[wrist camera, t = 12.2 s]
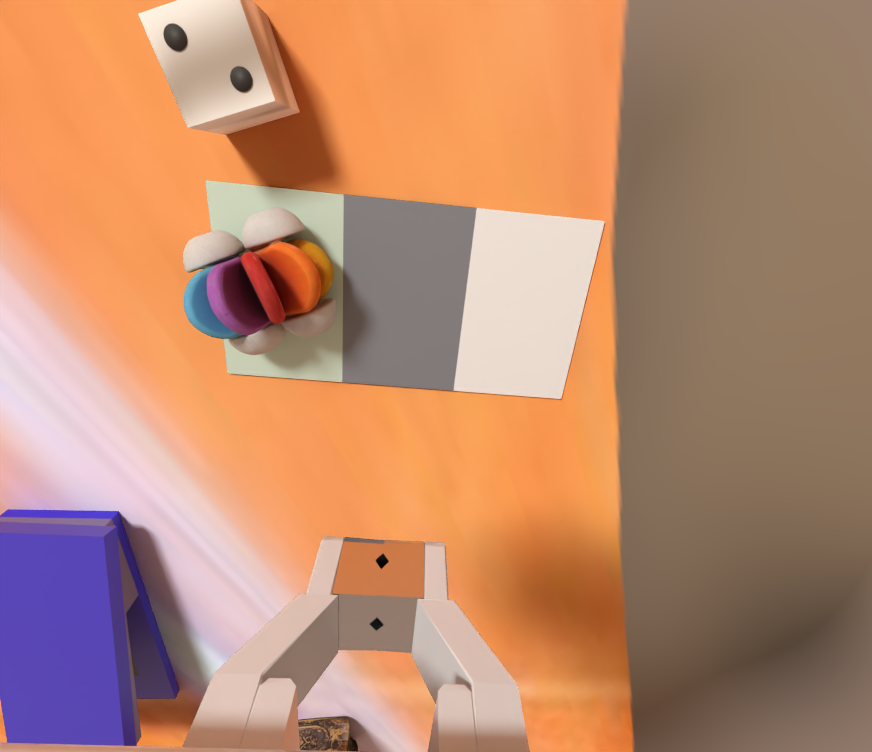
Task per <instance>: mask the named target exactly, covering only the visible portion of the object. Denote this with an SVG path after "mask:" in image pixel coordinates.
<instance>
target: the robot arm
mask: <svg viewBox="0 0 872 752" xmlns="http://www.w3.org/2000/svg"><path fill="white" fill-rule="evenodd" d="M338 650H377V651H391V652H406V653H411V655H412V657H413V659H414V661H415V663H416V665H417V667H418V669H419V671H420V673H421V675H422V678H423V680H424V682H425V684H426V686H427V688H428V690H429V692H430V694H431V696H432V698H433V700H434V702H435V704H436V707H435V712H434V718H433V724H432V730H431V736H430V742H429V748H428V752H530V751H529V746H528V740H527V734H526V729H525V723H524V718H523V712H522V707H521V701H520V696H519V690H518V685H517V684H516V682H515V681H514V680H513V678H512V677H511V676H510V674H509V673H508V672H507V670H506V669H505V668H504V666H503V665H502V664H501V662H500V661H499V660H498V658H497V657H496V655H495V654H494V653H493V651H492V650H491V649H490V647H489V646H488V645H487V643H486V642H485V641H484V639H483V638H482V637H481V635H480V634H479V633H478V631H477V630H476V629H475V627H474V626H473V625H472V623H471V622H470V621H469V619H468V618H467V617H466V615H465V614H464V613H463V611H462V610H461V609H460V607H459V606H458V604H457V603H456V602H455V601H453V600H448V582H447V564H446V546H445V544H444V543H441V542H421V541H398V540H374V539H362V538H350V537H332V536H324V537H323V539H322V541H321V544H320V548H319V551H318V555H317V558H316V562H315V565H314V569H313V572H312V576H311V579H310V583H309V586H308V590H307V593H300V594H299V595H298V596H297V597H296V598H295V599H293V600H292V601H291V602H290V603H289V604H288V605H287V606H286V607H285V608H284V609H283V610H282V611H281V612H279V613H278V614H277V615H276V616H275V617H274V618H273V619H272V620H271V621H270V622H269V623H268V624H267V625H265V626H264V627H263V628H262V629H261V630H260V631H259V632H258V633H257V634H256V635H255V636H254V637H253V638H251V639H250V640H249V641H248V642H247V643H246V644H245V645H244V646H243V647H242V648H241V649H240V650H239V651H237V652H236V653H235V654H234V655H233V656H232V657H231V658H230V659H229V660H228V661H227V662H226V663H225V664H223V665H222V666H221V667H220V668H219V669H218V670H217V671H216V672H215V673H214V674H213V676H212V679H211V681H210V683H209V686H208V688H207V690H206V693H205V695H204V697H203V700H202V702H201V705H200V707H199V709H198V712H197V714H196V716H195V719H194V721H193V723H192V726H191V728H190V730H189V733H188V735H187V737H186V740H185V742H184V744H183V747H152V746H112V745H72V744H32V743H0V752H353V751H312V750H300V743H299V726H298V709H297V707H298V706H299V704H300V703H301V702H302V700H303V699H304V698H305V696H306V695H307V694H308V692H309V691H310V689H311V688H312V687H313V685H314V684H315V683H316V681H317V680H318V679H319V677H320V676H321V675H322V673H323V672H324V671H325V669H326V668H327V667H328V665H329V664H330V663H331V661H332V660H333V659H334V657H335V656H336V655H337V653H338Z"/></svg>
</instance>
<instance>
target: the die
mask: <svg viewBox="0 0 872 752" xmlns="http://www.w3.org/2000/svg"><path fill="white" fill-rule="evenodd" d="M138 15H139V17H140V19H141V22H142V24H143V26H144V28H145V31H146V33H147V35H148V38H149V40H150V42H151V44H152V47H153V49H154V51H155V54H156V56H157V58H158V60H159V63H160V65H161V67H162V70H163V72H164V74H165V77H166V79H167V81H168V83H169V86H170V88H171V90H172V93H173V95H174V97H175V99H176V102H177V104H178V106H179V109H180V111H181V113H182V115H183V118H184V120H185V122H186V125H187V127H188V128H192V129H197V130H203V131H208V132H213V133H219V134H224V135H227V134H231V133H234V132H237V131H240V130H244V129H247V128H250V127H254V126H257V125H260V124H263V123H267V122H270V121H273V120H277V119H280V118H283V117H286V116H290V115H293V114H296V113H300V111H299V108H298V105H297V102H296V99H295V96H294V93H293V90H292V87H291V84H290V81H289V78H288V75H287V72H286V69H285V66H284V63H283V61H282V58H281V55H280V52H279V49H278V46H277V43H276V40H275V37H274V34H273V31H272V28H271V25H270V22H269V19H268V16H267V14H266V13H265V12H263V11H262V10H261V9H260V8H259V7H258V6H257V5H256V4H255V3H254V2H253V1H252V0H177V1H174V2H171V3H168V4H165V5H162V6H159V7H156V8H153V9H150V10H148V11H145V12H142V13H139V14H138Z"/></svg>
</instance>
